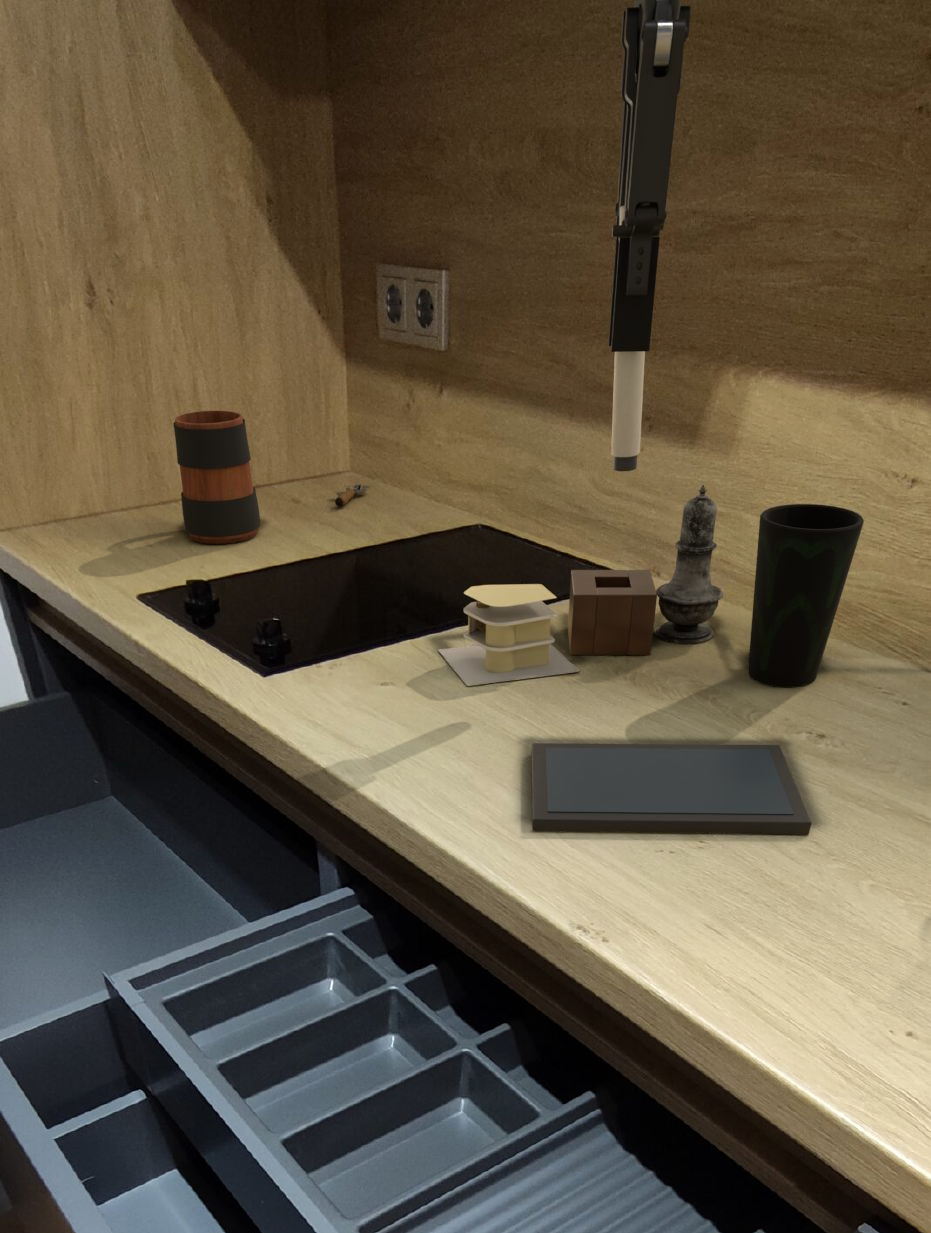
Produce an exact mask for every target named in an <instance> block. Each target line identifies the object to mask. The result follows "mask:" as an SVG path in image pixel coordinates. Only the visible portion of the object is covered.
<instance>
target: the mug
mask: <svg viewBox="0 0 931 1233" xmlns="http://www.w3.org/2000/svg"><path fill="white" fill-rule="evenodd" d="M172 426H173V431H174V439H175V447H176V460H177V465H179V472H180V480H181V487H182V491H181V493H180V498H181V499H180V500H181V509H182V517H183V524H184V530H185V532H186V533H187V534H188V535H189V537H190V539H191V540H193V541H195V542H196V543H200V544H206V545H229V544H237V543H241V542H245V541H248V540H250V539H253V538H255V537H256V536H257V534H258V532H259V528H260V527H261V515H260V507H259V502H258V496H257V490H256V488H255V487H254V485H253V484H254V483H253V478H252V470H251V464H250V461H251V459H252V457H251V451H250V446H249V441H248V434H247V427H246V426H247V425H246V420H245V419H244V418H243V415H242V413H239V412H236V411H231V410H199V411H192V412H186V413H183V414H180V415H178V416H176V417H175V418H174V422H173V425H172Z"/></svg>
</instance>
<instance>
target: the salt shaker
mask: <svg viewBox="0 0 931 1233" xmlns="http://www.w3.org/2000/svg"><path fill="white" fill-rule="evenodd" d="M707 491H708V490H707V489H706V487H705V484H702V485H701V487H700V488H699V489H698V492H699V494H698V495H696V496H695V497H692V498H691V499H689V500H688V501H686V503H685V504H684V506H683V509H682V510H683V511H682V518H681V520H682V521H681V526H680V536H679V540H678V541H676V542H675V543H674V548H675V549H677V552H676V561H675V569H674V571H673V574H672V578H671V580H670V581H669V582H667V583H664V584H662V585H660V586H658V587H657V588H656V589H655V590H656V593H657V598H658V607H659V610H660V613H661V615H662V616H663V617H664V618H665V619H666V620H667V621H665V622H663V623H662V624H660V625H658V626H657V627H656V628H655V630H654V634H655V636H656V637H657V638H659V639H661V640H663V641H665V642H669V643H674V644H684V645H685V644H686V645H688V644H689V645H690V644H691V645H692V644H699V643H704V642H708V641H709V640H712V639H713V638H714V636H715V631H714V630H713V629H712V628H711V627H710V626H709V625H708V624H706V622H707V621H708V620H709V619H711V618H712V616H713V615H714V614H715V612H716V611H717V608H718V606H719V601H720V600H721V599H722V598H723V597H724V591H723V590H722V589H721V587H718V586H717V585H715V584H713V583H712V581H711V562H712V557H713V556H712V555H713V551H714V550H715V549H717V546H718V545H717V543H716V542H715V541H714V534H715V526H716V521H717V513H718V505H717V503H716V502H715V501H714V500H713V499H712V498H710V497H708V495H706V493H707Z"/></svg>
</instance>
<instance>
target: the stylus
mask: <svg viewBox="0 0 931 1233" xmlns="http://www.w3.org/2000/svg"><path fill="white" fill-rule="evenodd" d="M623 219H624V206H621V207H620V222H619V225H621V224H622V221H623ZM645 359H646V351H637V352H614V360H613V362H614V364H613V365H614V367H613V390H612V391H613V394H612V416H611V417H612V418H611V419H612V420H611V421H612V422H611V448H610V455H611V456H612V457H613V461H612V462H613V463H612V467H613V468H612V469H613V471H615V472H632V471H635V470H637V465H638V455H640V454H641V436H642V420H643V419H642V418H643V400H644V398H643V397H644V382H645V380H644V379H645V378H644V377H645V363H646V362H645V361H646V360H645Z"/></svg>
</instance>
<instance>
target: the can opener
mask: <svg viewBox="0 0 931 1233" xmlns="http://www.w3.org/2000/svg"><path fill="white" fill-rule="evenodd" d="M361 485H362V484H361V483H357V482H356V483H355V485H354V487H353V488H350V487H345V491H344V492H343V493H340V494H339V495H338V496H337V497H336V498H335V500H334V502H335V506H337V507H338V508H340V507H341V508H342V507H343V506H345V505H346V504H347V503H348V502H349V501H350V500H351V499H353V498H354V496H355V495H356V494H357V493H358V494H364V493H366V492H367V491H368V488H367V487H366V486H364V487H362V486H361Z"/></svg>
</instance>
